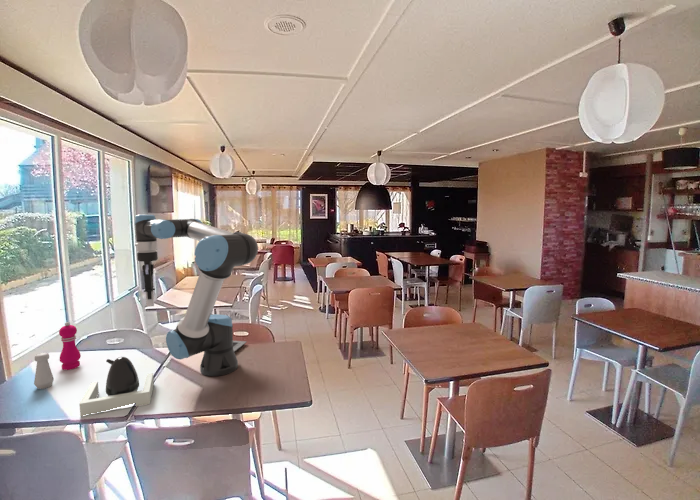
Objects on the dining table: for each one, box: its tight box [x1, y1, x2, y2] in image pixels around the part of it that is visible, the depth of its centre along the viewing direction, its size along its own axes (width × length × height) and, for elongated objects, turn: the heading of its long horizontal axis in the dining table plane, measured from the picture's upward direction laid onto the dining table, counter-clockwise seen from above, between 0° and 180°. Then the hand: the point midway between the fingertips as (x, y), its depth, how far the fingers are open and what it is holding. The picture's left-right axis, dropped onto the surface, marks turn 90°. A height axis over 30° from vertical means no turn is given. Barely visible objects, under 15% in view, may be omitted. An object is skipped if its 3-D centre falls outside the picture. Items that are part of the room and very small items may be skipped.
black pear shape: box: [105, 356, 140, 396], centre depth 131 cm, size 10×10×15 cm
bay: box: [79, 372, 155, 417], centre depth 131 cm, size 16×20×4 cm
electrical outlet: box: [233, 340, 247, 353], centre depth 179 cm, size 13×10×2 cm
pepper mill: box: [58, 321, 82, 371], centre depth 156 cm, size 7×7×20 cm
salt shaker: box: [33, 352, 54, 390], centre depth 139 cm, size 6×6×13 cm
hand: (150, 306), depth 157 cm, fingers closed
